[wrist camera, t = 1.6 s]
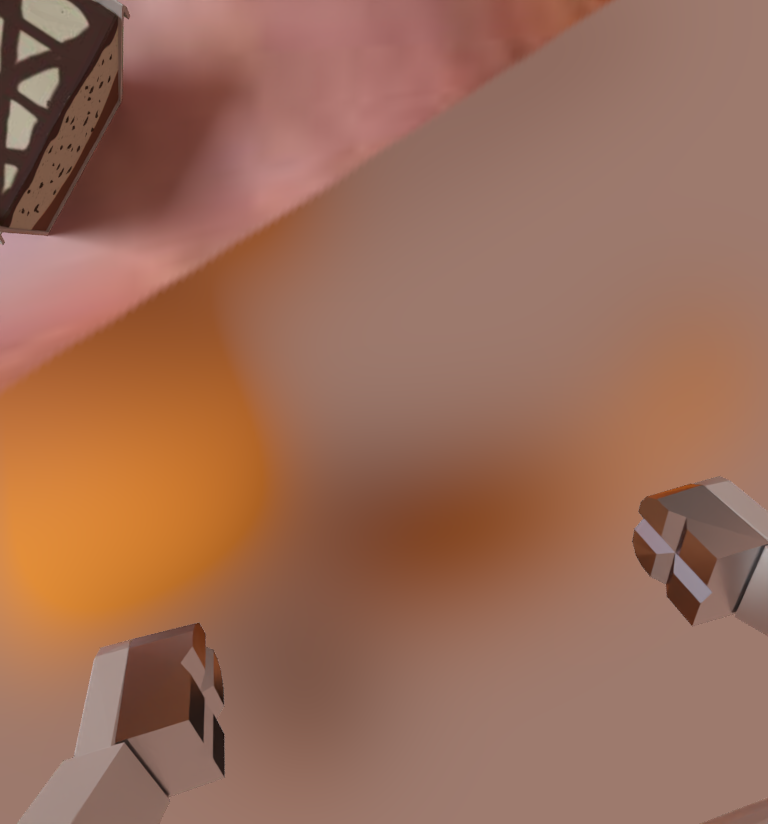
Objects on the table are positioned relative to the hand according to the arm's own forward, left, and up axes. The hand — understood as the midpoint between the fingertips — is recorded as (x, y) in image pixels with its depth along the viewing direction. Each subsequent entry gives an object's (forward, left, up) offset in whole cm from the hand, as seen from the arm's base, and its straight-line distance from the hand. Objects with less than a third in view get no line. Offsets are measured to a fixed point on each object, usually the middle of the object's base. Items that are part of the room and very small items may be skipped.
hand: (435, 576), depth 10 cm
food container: (-16, +6, -31) cm, 36 cm away
